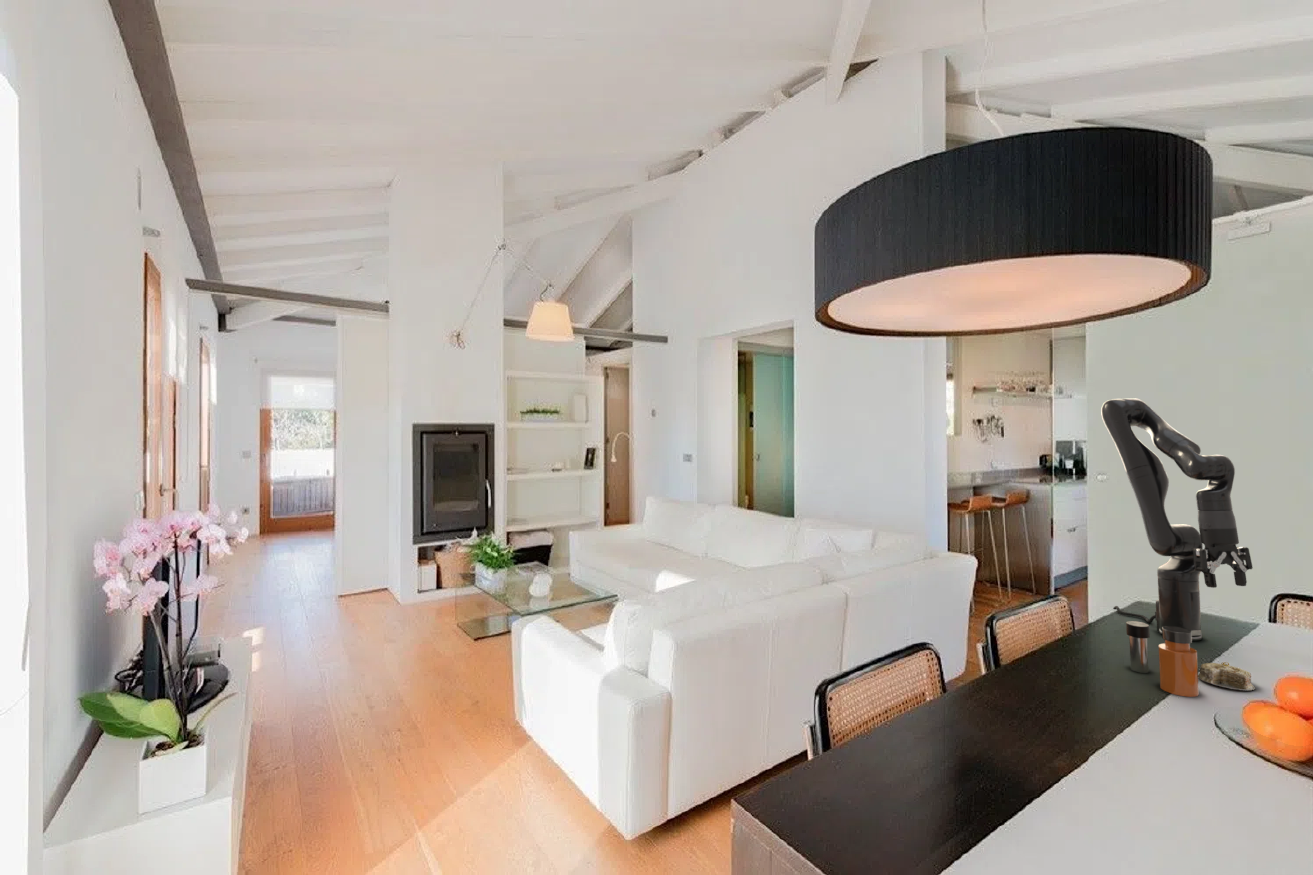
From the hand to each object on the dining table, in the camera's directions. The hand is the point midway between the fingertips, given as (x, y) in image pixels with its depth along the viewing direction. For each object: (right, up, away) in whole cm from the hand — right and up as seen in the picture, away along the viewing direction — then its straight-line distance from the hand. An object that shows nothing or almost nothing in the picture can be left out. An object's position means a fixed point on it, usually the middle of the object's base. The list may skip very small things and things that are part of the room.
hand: (1226, 586), depth 157 cm
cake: (-18, -19, -18) cm, 31 cm away
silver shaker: (-31, -20, -8) cm, 38 cm away
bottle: (-32, -19, -20) cm, 42 cm away
